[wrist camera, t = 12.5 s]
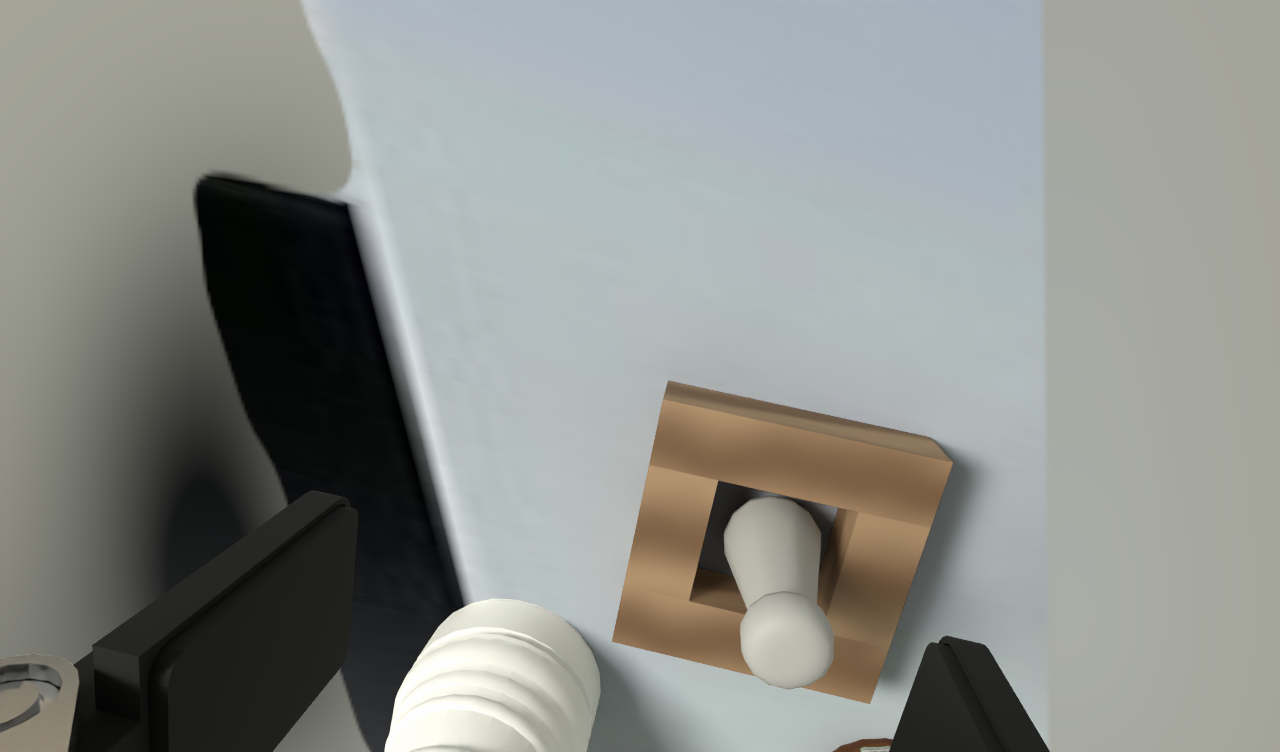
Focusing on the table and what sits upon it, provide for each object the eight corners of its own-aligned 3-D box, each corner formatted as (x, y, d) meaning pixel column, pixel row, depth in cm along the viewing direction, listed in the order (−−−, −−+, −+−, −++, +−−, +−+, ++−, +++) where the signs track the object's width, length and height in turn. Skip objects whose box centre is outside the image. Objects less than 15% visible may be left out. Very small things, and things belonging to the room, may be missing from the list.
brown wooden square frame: (668, 380, 41) (663, 399, 37) (930, 437, 40) (953, 462, 36) (621, 603, 45) (612, 641, 41) (856, 660, 44) (869, 703, 40)
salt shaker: (825, 492, 41) (871, 617, 29) (805, 572, 43) (841, 724, 30) (731, 474, 42) (737, 590, 29) (715, 555, 43) (714, 697, 31)
